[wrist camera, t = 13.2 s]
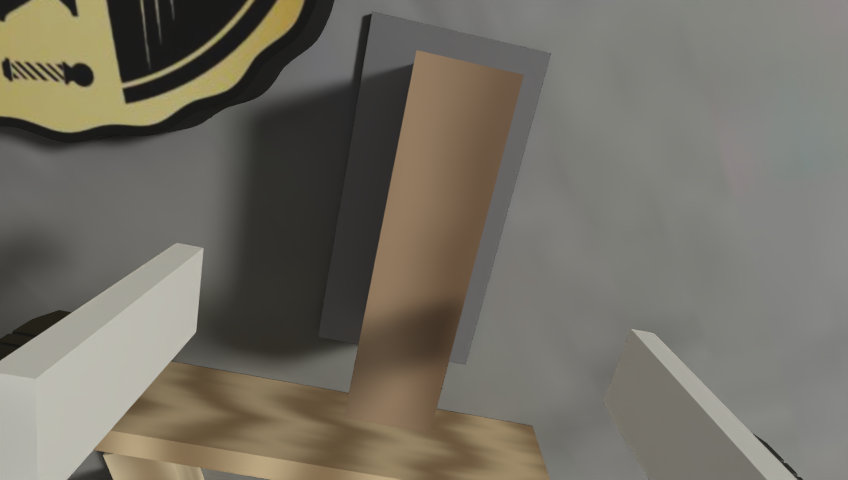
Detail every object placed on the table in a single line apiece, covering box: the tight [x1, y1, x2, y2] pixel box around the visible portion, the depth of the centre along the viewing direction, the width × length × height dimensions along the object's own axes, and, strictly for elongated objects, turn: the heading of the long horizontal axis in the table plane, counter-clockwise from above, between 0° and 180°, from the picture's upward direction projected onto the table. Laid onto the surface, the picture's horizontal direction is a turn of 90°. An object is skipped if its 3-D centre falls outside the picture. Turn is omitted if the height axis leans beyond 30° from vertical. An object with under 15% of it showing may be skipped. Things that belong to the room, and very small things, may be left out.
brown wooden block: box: [344, 50, 524, 433], centre depth 25 cm, size 4×16×10 cm, turn 168°
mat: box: [318, 12, 551, 365], centre depth 30 cm, size 10×20×1 cm, turn 168°
